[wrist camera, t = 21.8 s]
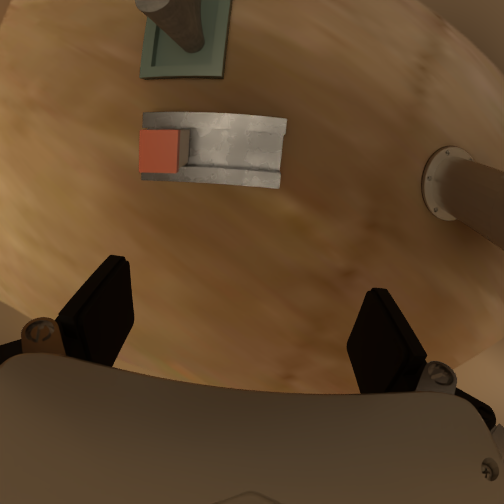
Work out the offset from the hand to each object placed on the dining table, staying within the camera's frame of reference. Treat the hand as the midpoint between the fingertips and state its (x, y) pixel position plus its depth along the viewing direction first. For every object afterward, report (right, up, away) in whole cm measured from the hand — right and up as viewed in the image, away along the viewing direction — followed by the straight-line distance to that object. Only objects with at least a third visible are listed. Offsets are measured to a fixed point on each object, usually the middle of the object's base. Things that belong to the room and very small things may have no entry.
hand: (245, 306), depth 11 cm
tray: (-8, +36, +18) cm, 41 cm away
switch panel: (-5, +16, +27) cm, 32 cm away
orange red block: (-10, +16, +25) cm, 31 cm away
